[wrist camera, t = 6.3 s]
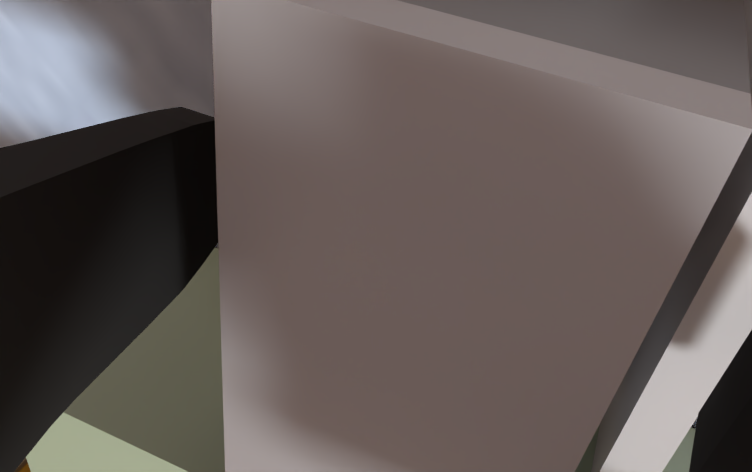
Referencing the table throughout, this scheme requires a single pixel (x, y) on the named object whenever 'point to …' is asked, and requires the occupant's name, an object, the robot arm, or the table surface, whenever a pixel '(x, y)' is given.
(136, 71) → the table surface
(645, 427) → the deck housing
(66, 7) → the table surface
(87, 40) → the table surface
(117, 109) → the table surface
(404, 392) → the grey rectangular block
